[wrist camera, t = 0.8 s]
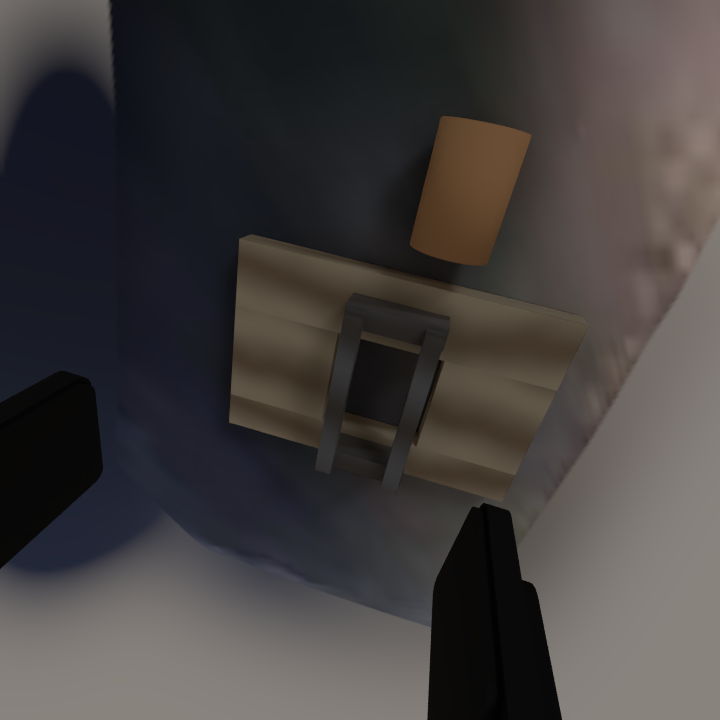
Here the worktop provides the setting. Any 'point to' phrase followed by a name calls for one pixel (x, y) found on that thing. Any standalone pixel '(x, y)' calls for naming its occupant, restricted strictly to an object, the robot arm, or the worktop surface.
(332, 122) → the worktop surface
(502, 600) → the robot arm
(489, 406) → the wooden plate
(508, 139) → the tan cylinder
